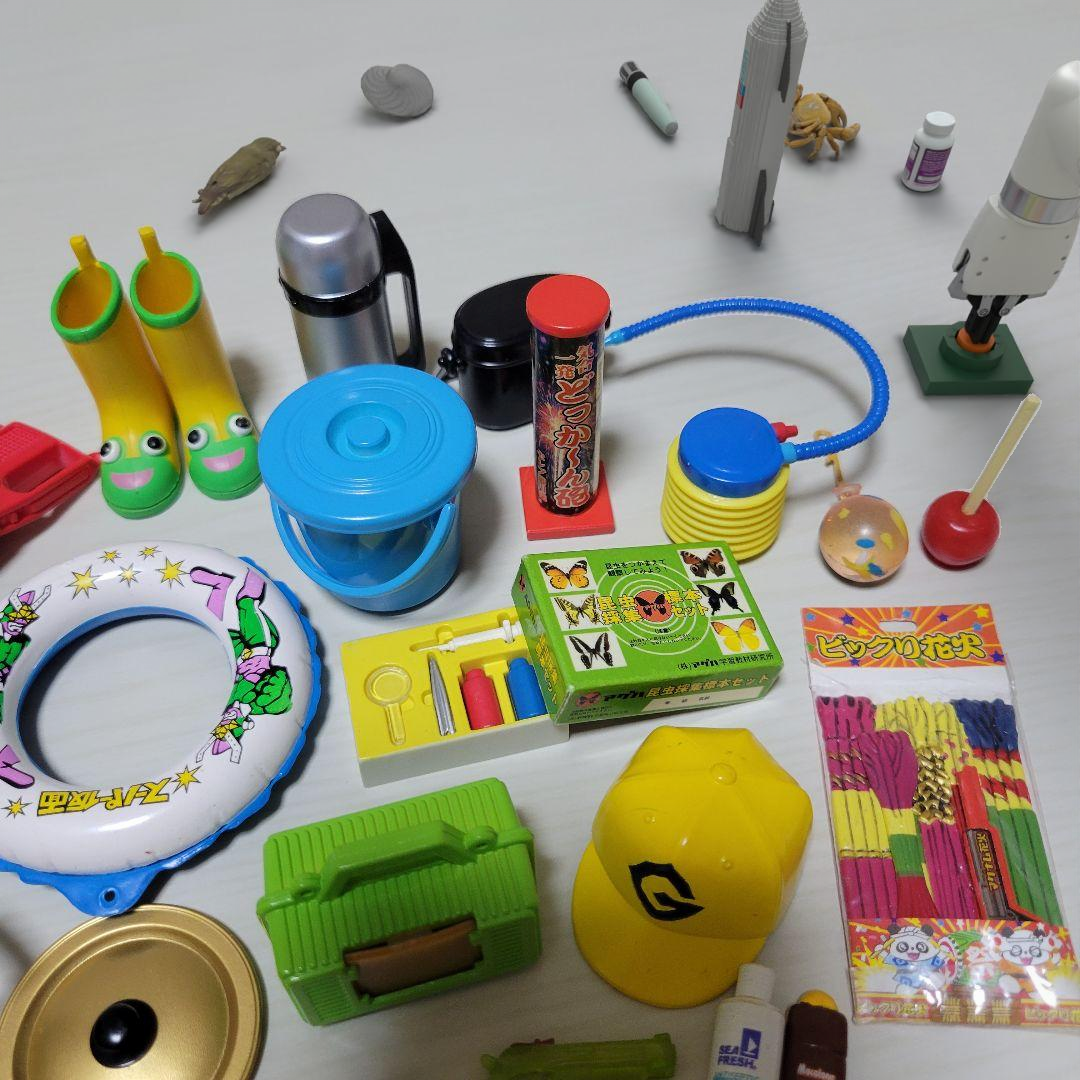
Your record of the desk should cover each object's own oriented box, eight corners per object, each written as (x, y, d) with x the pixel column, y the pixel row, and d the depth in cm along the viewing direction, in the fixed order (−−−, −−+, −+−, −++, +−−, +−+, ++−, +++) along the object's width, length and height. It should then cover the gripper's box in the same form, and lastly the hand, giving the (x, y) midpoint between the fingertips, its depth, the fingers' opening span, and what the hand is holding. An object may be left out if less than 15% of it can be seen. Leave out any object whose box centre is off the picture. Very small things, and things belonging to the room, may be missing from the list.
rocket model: (783, 244, 128) (837, 11, 104) (733, 250, 127) (775, 17, 104) (750, 186, 137) (793, -41, 113) (702, 192, 136) (735, -36, 112)
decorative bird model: (300, 160, 142) (293, 128, 138) (211, 229, 131) (201, 197, 127) (273, 151, 143) (266, 119, 139) (183, 219, 133) (172, 187, 129)
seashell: (356, 96, 153) (366, 118, 146) (356, 59, 149) (365, 79, 142) (427, 97, 156) (440, 119, 149) (428, 61, 152) (441, 81, 146)
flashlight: (692, 126, 144) (645, 65, 155) (670, 117, 141) (624, 55, 153) (680, 146, 146) (635, 83, 157) (658, 137, 143) (614, 74, 155)
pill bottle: (945, 181, 137) (968, 117, 130) (927, 197, 135) (950, 132, 127) (911, 167, 139) (932, 104, 132) (893, 183, 137) (914, 119, 129)
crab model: (874, 156, 142) (885, 121, 137) (796, 169, 139) (804, 134, 135) (827, 104, 151) (836, 70, 146) (753, 116, 148) (760, 81, 144)
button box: (999, 337, 116) (1012, 311, 113) (1026, 394, 110) (1041, 368, 107) (902, 339, 116) (912, 313, 113) (924, 396, 110) (935, 370, 107)
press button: (982, 338, 113) (988, 325, 111) (992, 361, 110) (999, 348, 109) (948, 339, 113) (954, 325, 111) (958, 362, 110) (964, 348, 109)
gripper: (1101, 172, 98) (1029, 314, 112) (957, 174, 97) (903, 316, 112) (1130, 215, 93) (1050, 357, 108) (979, 217, 93) (920, 359, 108)
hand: (975, 335), depth 110 cm, fingers closed
